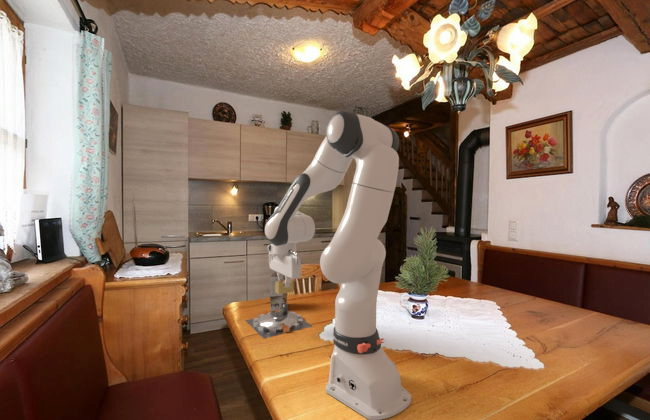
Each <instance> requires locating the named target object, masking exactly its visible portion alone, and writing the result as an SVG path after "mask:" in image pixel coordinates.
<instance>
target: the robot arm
mask: <svg viewBox="0 0 650 420" xmlns="http://www.w3.org/2000/svg"><path fill="white" fill-rule="evenodd" d="M325 129H326V130H325V137H324V139H323V140H322V142H321V144H320V145H319V147H318V149H317V151H316V152H315V155H314V157H313V159H312V161H311V163H310V164H309V165H308V166H307V168H306V169H305V170H304V171H303V172H302V173H301V174H299V175H298V176H297V177H296V178H294V181H293V182H292V183H291V185H290V186H289V188H288V189H287V191H286V192H285V195H284V196H283V197H282V200H281V201H280V203H279V204H278V205H277V206H275V208H274V211H273V213H272V214H271V215H270V217H268V219H267V220H266V222H265V225H264V231H263V232H264V236H265V238H266V239H267V241H268V242H269V243H270V244H268V245H267V251H268V265H269V269H270V270H272V271H275V273H277V276H278V279H279V281H282V280H284V278H283V275H285V278H286V279H285V282H284V287H286V288H287V287H290V281H291V280H295V279H296V280H297V279H301V277H302V264H301V258H300V257H299V255H298V252H297V244H298V243H305V242H308V241H312V240H313V239H314V237H315V235H316V233H317V225H316V222H315V220H314V218H313V217H312V216H311V215H309V214H305V213H303V212H301V211H299V209H300V208H301V206H302V205H303V203H305V201H307V200H308V199H310V198H311V197H315V196H316V195H320V194H323V193H327V192H330V191H332V190H334V189H336V188H337V187H338V186H339V185H340V184H341V182H342V181H343V180H344V178H345V176H346V174H347V172H348V170H349V167H350V166H351V164H352V162H353V160H355V164H356V166H355V172H354V176H353V178H352V179H353V180H352V183H351V187H350V191H349V196H348V199H347V204H346V208H345V211H344V213H343V216H342V219H340V222H339V224H338V227H337V229H336V231H335V232H334V235H333V237H332V239H331V240H330V243H329V244H328V245H327V246H326V247H325V248H324V250H322V252H321V254H320V258H319V266H320V270H321V273H322V275H323V276H324V277H325V278H326V279H327V281H329V282H331V283H333V284H337V285H340V284H341V285H340V288H339V290H338V293H337V294H336V297H335V301H334V321H335V323H334V324H335V325H334V327H333V333H332V338H333V344H334V347H333V350H332V353H331V357H330V362H329V374H328V381H327V384H326V386H325V392H326V393H327V394H328V395H329V396H331V397H333V398H335V400H338V401H339V402H341V403H342V404H344V405H345V406H347V407H349V408H350V409H352V410H353V411H355V412H356V413H358V414H360V415H361V416H363V417H364V418H366V419H368V420H385V419H389V418H392V417H394V416H396V415H398V414H399V413H401V412H403V411H405V410H406V409H407V408H408V407H409V406H410V405H411V403H412V394H411V393H410V392H409V391H408V390H406V389H405V388H404V387H403V386H402V379H401V375H400V372H399V370H398V369H397V365H396V363H395V361H393V360H391V359H390V358H389V356H388V354H387V353H386V352H385V351H384V349H383V347H382V344H383V343H385V341H384V340H385V338H380V334H379V330H378V329H377V303H378V302H377V301H378V293H379V289H380V283H381V277H382V269H383V265H384V262H385V259H386V256H387V255H386V254H387V251H386V248H385V245H384V244H383V242H382V241H381V239H379V238H378V237H379V236H380V234H381V231H382V229H383V228H384V226H385V225H386V223H387V221H388V217H389V214H390V210H391V206H392V203H393V198H394V194H395V190H396V186H397V182H398V174H399V167H400V164H399V162H400V157H399V154H398V150H399V146H400V139H399V136H398V133H397V132H396V131H395V130H394V129H393V128H392V127H390V126H388V125H385V124H383V123H381V122H379V121H378V120H375V119H373V118H372V117H369V116H366V115H363V114H358V113H355V112H354V111H350V110H339V111H337V112H335V113H334V114H333V115H332V116H331V118H330V119H329V121H328V122H327V126H326V128H325Z"/></svg>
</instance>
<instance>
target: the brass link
mask: <svg viewBox="0 0 650 420" xmlns="http://www.w3.org/2000/svg"><path fill="white" fill-rule="evenodd" d="M284 282H285V280H282V281H276V282H275V292H276V293H277V294H284V293H287V294H289V293H293V292H294V280H293V279H291V281H290V287H287V288H286V287H284Z"/></svg>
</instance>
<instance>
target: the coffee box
mask: <svg viewBox="0 0 650 420" xmlns="http://www.w3.org/2000/svg"><path fill="white" fill-rule="evenodd" d="M283 278H284V280H285V279H286V278H285V275H283ZM269 281H270V282H269V283H270V285H269V286H270V288H269V289H270V290H269V291H270V292H269V294H270V298H269V299H270V301H269V303H270V305H269V307H270V308H269V309H270V311H269V312H271V311H274V312H280V311H283V304H288V293H284V294H277V293H276V292H275V282H276V281H279V279H278V276H277V272H273V273H272V274H271V275H270V280H269Z"/></svg>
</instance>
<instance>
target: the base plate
mask: <svg viewBox="0 0 650 420" xmlns="http://www.w3.org/2000/svg"><path fill="white" fill-rule="evenodd" d="M289 312H291V310H288V313H289ZM254 318H255V317H254ZM254 318H250V319H245V322H246V323H247V324H248V325H249V326H250V327H251V328H252V329H253V330H254V331H255V332H256V333H257V334H258V335H259V336H260V337H261V338H262V339H268V338H272V337H276V336H280V335H283V334H288V333H291V332H296V331H299V330H304V329H308V328H312V327H313V325H312V324H311V323H309V322H307V321H306V320H305V319H303V324H302V325H300V327H299V328H298V329H296V330H295V329H290V332H286V333H283V332H282V331H278V332H276V334H271V333H269V331H265V332H260V331H258V328H256V329H254V327H253V320H254Z"/></svg>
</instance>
